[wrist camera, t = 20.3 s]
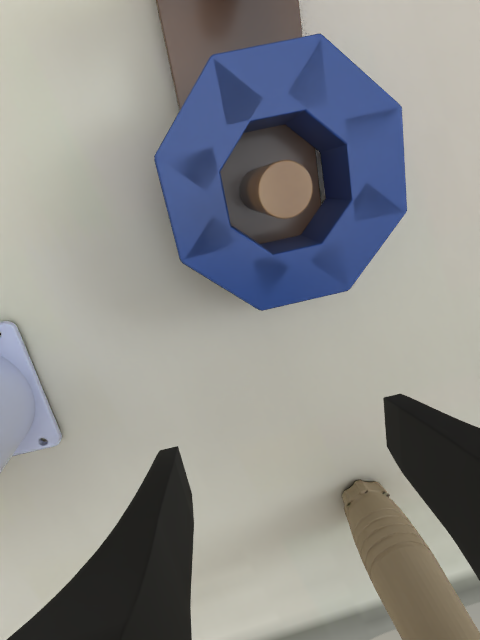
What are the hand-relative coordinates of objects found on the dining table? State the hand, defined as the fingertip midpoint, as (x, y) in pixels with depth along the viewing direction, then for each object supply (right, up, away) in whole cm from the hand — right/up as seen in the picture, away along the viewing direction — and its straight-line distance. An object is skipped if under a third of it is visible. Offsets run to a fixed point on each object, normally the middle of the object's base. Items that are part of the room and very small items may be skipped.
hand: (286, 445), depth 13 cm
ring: (0, +11, +6) cm, 12 cm away
